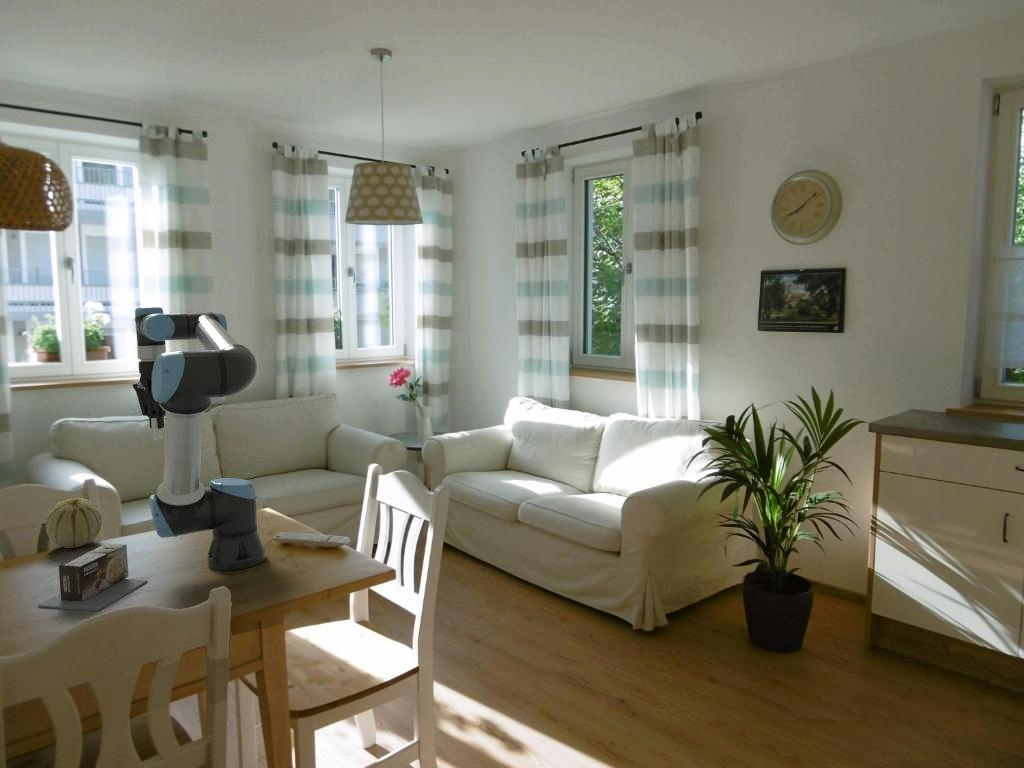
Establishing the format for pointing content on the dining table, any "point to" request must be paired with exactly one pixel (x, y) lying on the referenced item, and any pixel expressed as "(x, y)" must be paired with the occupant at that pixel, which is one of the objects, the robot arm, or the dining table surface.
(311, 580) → the dining table surface
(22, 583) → the dining table surface
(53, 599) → the slate mat
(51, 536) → the cantaloupe
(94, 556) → the coffee box
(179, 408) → the robot arm
